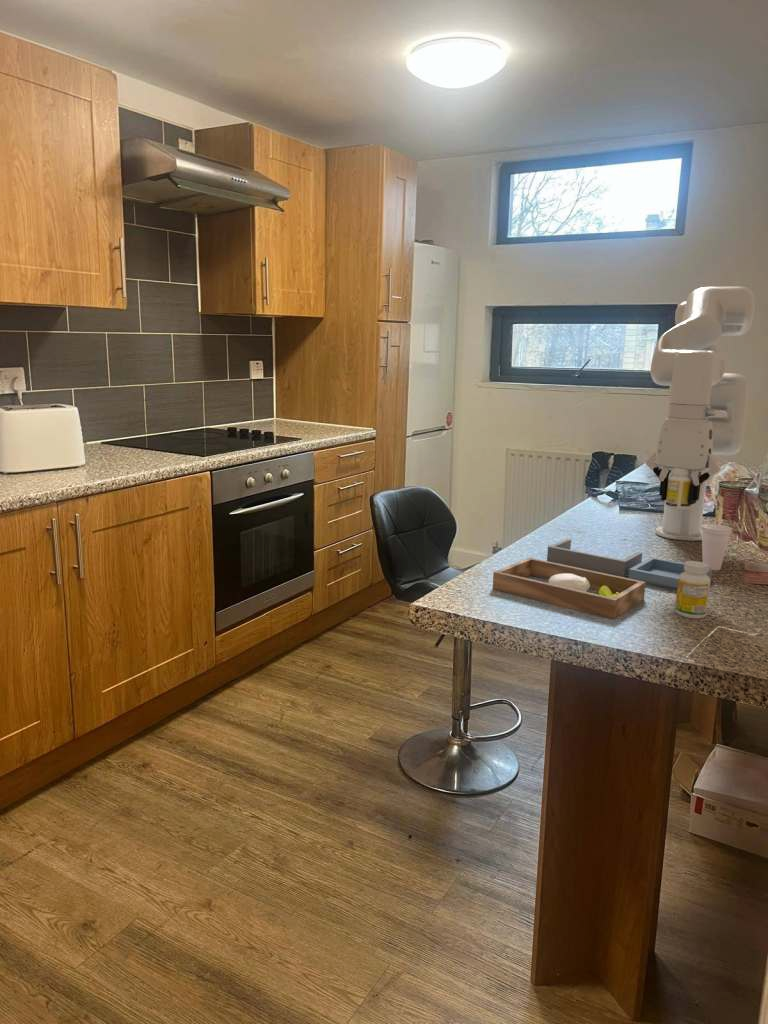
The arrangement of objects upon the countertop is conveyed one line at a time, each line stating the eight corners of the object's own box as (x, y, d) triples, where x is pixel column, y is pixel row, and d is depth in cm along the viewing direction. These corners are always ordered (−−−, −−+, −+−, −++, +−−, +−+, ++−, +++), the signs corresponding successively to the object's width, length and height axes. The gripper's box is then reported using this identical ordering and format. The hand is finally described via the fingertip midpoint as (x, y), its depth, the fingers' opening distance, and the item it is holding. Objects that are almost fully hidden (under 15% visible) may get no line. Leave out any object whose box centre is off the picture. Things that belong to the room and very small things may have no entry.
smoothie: (730, 573, 161) (738, 511, 158) (699, 571, 163) (706, 509, 160) (723, 565, 167) (730, 505, 165) (693, 563, 169) (700, 504, 166)
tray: (649, 567, 164) (651, 557, 164) (710, 579, 156) (712, 568, 156) (628, 580, 154) (629, 569, 154) (691, 594, 146) (693, 582, 146)
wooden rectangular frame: (528, 573, 158) (529, 557, 157) (644, 599, 142) (645, 581, 142) (492, 589, 146) (493, 572, 146) (613, 619, 131) (615, 600, 130)
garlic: (585, 588, 149) (586, 571, 148) (592, 599, 142) (594, 581, 141) (545, 587, 149) (546, 569, 148) (551, 598, 143) (552, 579, 142)
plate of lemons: (583, 602, 141) (585, 588, 140) (600, 592, 147) (601, 579, 147) (624, 611, 136) (626, 597, 136) (639, 601, 142) (641, 587, 142)
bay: (566, 553, 175) (567, 538, 174) (640, 568, 164) (642, 552, 163) (546, 561, 167) (547, 546, 167) (623, 577, 156) (625, 561, 156)
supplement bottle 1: (689, 506, 154) (693, 466, 152) (690, 510, 149) (695, 469, 147) (664, 504, 155) (669, 464, 153) (665, 508, 151) (669, 467, 149)
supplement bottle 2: (700, 621, 131) (707, 569, 129) (670, 614, 134) (676, 563, 132) (710, 614, 135) (716, 563, 133) (680, 607, 138) (686, 558, 136)
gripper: (737, 415, 146) (726, 505, 150) (652, 409, 156) (644, 493, 160) (727, 417, 140) (716, 510, 144) (639, 411, 150) (631, 498, 154)
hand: (678, 500), depth 152 cm, fingers closed on supplement bottle 1, 4 cm apart
